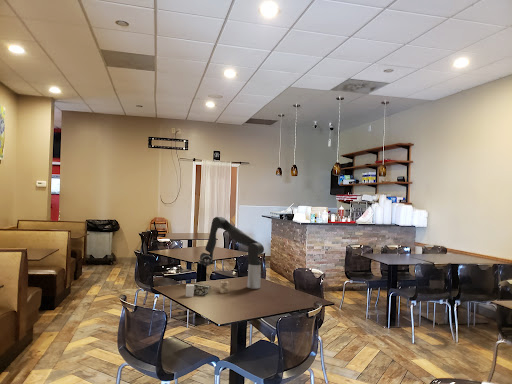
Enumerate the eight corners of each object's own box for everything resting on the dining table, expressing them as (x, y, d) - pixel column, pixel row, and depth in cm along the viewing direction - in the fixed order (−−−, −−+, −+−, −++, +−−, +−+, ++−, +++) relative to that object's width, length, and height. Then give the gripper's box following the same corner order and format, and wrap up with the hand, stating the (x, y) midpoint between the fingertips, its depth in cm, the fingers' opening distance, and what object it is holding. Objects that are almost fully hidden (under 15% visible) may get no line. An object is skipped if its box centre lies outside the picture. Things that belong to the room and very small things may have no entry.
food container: (194, 292, 248) (189, 293, 238) (196, 283, 249) (191, 284, 239) (211, 295, 245) (207, 296, 236) (213, 286, 246) (208, 287, 237)
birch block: (227, 291, 253) (227, 281, 253) (227, 293, 248) (228, 282, 248) (220, 291, 252) (220, 281, 253) (220, 292, 247) (221, 282, 248)
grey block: (193, 294, 238) (194, 284, 238) (193, 296, 233) (193, 286, 233) (185, 294, 237) (186, 284, 237) (185, 296, 232) (186, 285, 232)
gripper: (198, 255, 280) (197, 258, 263) (215, 255, 282) (216, 258, 265) (197, 265, 280) (197, 268, 262) (214, 265, 281) (215, 268, 264)
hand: (206, 263), depth 264 cm, fingers closed
